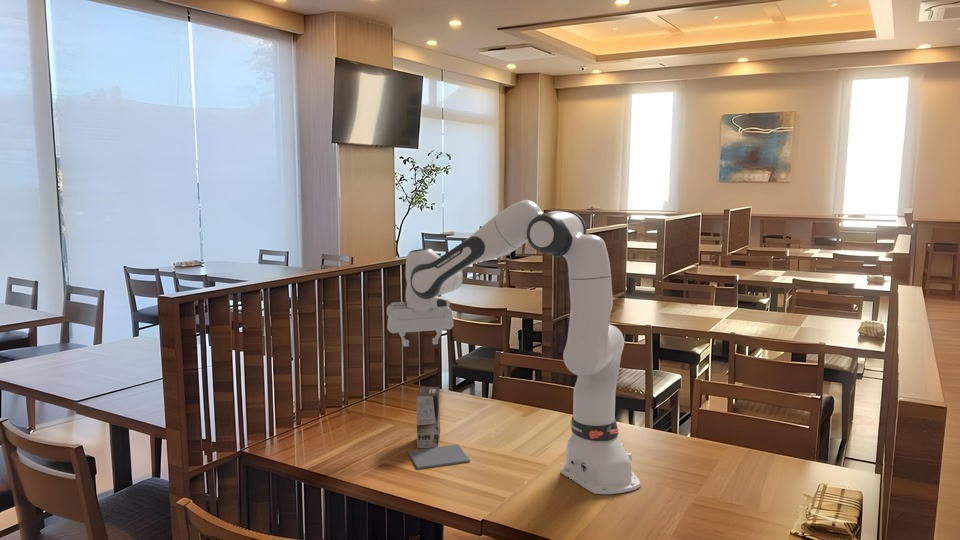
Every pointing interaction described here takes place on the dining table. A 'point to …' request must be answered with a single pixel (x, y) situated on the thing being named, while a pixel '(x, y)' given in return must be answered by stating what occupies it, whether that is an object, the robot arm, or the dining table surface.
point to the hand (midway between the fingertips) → (420, 345)
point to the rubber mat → (438, 456)
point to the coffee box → (428, 417)
